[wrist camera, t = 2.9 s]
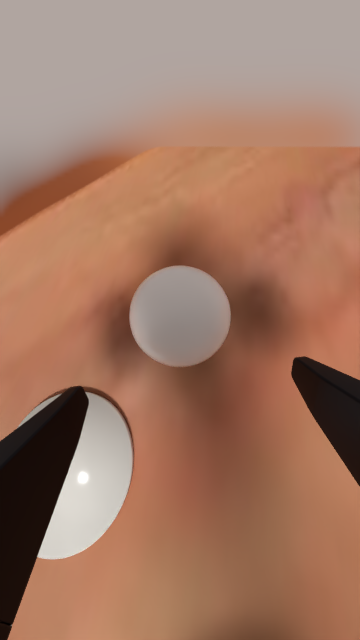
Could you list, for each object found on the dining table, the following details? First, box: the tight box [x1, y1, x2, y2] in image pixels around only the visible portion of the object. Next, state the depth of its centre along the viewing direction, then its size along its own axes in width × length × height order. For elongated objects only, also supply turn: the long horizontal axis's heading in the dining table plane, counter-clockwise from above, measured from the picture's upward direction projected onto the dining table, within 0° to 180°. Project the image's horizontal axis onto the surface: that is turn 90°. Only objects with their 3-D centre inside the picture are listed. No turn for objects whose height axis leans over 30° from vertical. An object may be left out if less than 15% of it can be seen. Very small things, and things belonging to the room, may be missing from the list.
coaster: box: [18, 392, 134, 559], centre depth 16 cm, size 12×12×1 cm
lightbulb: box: [129, 265, 231, 367], centre depth 14 cm, size 6×6×11 cm
